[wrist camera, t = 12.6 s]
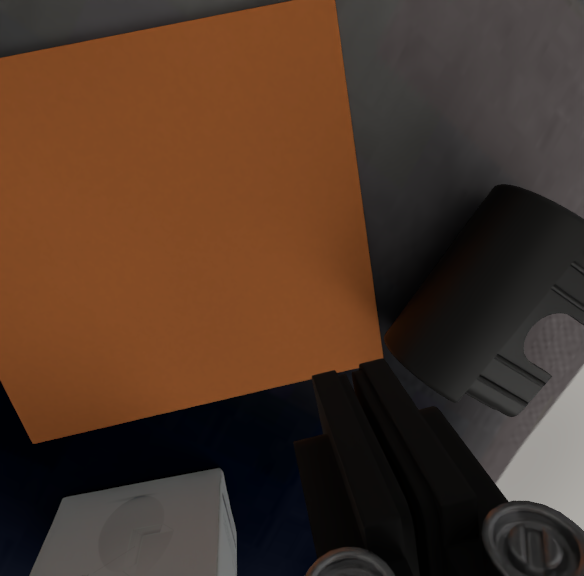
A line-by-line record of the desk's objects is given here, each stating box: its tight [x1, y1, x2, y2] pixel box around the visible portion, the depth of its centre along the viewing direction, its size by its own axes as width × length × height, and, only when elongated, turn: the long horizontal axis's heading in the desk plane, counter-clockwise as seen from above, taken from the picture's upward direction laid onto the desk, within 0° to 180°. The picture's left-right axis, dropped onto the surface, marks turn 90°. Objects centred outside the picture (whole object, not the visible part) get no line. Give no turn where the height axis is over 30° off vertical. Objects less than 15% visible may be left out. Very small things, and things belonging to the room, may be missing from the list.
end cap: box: [384, 184, 584, 417], centre depth 23 cm, size 10×7×7 cm
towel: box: [0, 0, 383, 444], centre depth 23 cm, size 20×22×1 cm
